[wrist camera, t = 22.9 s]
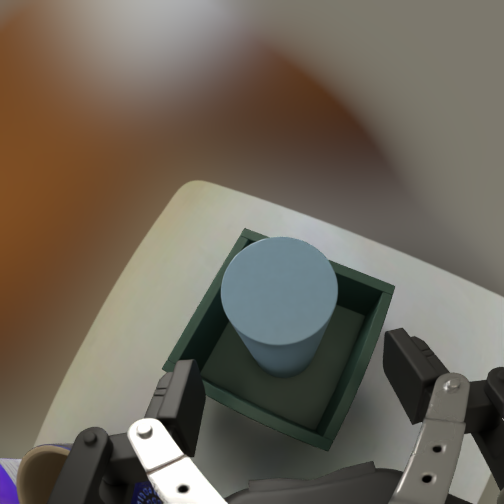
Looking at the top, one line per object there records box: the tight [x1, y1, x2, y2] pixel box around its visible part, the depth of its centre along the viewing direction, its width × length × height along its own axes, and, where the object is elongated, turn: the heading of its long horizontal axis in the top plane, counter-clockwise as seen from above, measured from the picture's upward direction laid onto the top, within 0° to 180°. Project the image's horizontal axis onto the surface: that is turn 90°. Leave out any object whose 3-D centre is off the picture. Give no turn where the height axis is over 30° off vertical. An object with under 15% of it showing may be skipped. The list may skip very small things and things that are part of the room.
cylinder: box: [221, 237, 338, 378], centre depth 20 cm, size 5×5×14 cm
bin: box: [162, 228, 395, 451], centre depth 24 cm, size 13×13×7 cm
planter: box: [16, 443, 164, 504], centre depth 16 cm, size 11×11×11 cm
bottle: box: [0, 458, 22, 504], centre depth 13 cm, size 7×6×17 cm
